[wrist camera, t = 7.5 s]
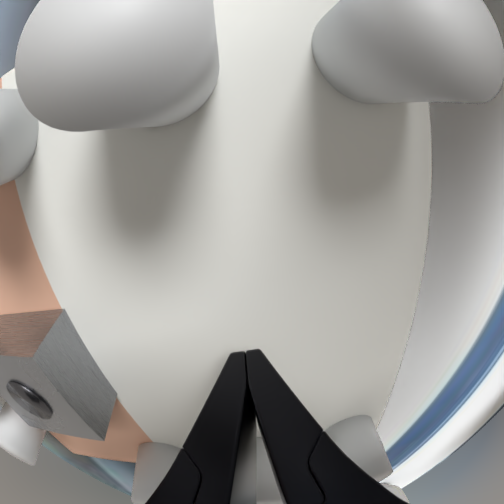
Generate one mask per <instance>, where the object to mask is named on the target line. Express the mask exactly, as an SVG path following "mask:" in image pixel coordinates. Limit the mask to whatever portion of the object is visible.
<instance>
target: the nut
mask: <svg viewBox="0 0 504 504" xmlns="http://www.w3.org/2000/svg"><path fill="white" fill-rule="evenodd" d="M0 395H1V397H2V398H3V399H4V400H5V401H6V402H7V403H8V404H9V406H10V407H11V408H12V409H13V410H14V411H15V412H16V413H17V414H18V415H19V416H20V417H21V418H22V419H23V420H24V421H25V422H26V423H27V424H28V425H29V426H31V427H35V428H38V429H42V430H46V431H50V432H55V433H59V434H64V435H69V436H74V437H80V438H86V439H92V440H99V441H105V437H106V433H107V429H108V426H109V422H110V418H111V415H112V411H113V408H114V404H115V401H116V398H117V392H116V391H115V390H114V388H113V387H112V386H111V384H110V383H109V381H108V380H107V378H106V377H105V376H104V374H103V373H102V371H101V370H100V368H99V367H98V365H97V363H96V362H95V360H94V359H93V357H92V356H91V354H90V352H89V351H88V349H87V348H86V346H85V344H84V343H83V341H82V339H81V337H80V336H79V334H78V332H77V330H76V329H75V327H74V325H73V323H72V321H71V320H70V318H69V316H68V314H67V312H66V310H65V308H64V309H55V310H46V311H36V312H26V313H15V314H3V315H0Z"/></svg>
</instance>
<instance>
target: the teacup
mask: <svg viewBox="0 0 504 504" xmlns="http://www.w3.org/2000/svg"><path fill="white" fill-rule="evenodd" d="M380 484H381V485H383V486H384V487H385V488H386V489H388V490H389V491H390V492H392V493H393V494H395V495H396V496H397V497H399V498H401V499H402V500H404V501H406V502H408V503H409V501H408V499H407V497H406V496H405V494H404V492H403V491H402V489H401V488H399V487H398V486H395V485H387V484H384V483H380Z"/></svg>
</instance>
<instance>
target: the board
mask: <svg viewBox="0 0 504 504" xmlns="http://www.w3.org/2000/svg"><path fill="white" fill-rule="evenodd" d="M503 80H504V48H503V43H502V40H501V36H500V33H499V30H498V28H497V25H496V23H495V21H494V19H493V17H492V15H491V13H490V11H489V9H488V8H487V6H486V5H485V3H484V2H483V0H40V1H39V3H38V4H37V6H36V7H35V9H34V10H33V12H32V13H31V15H30V17H29V19H28V20H27V22H26V24H25V27H24V29H23V31H22V34H21V37H20V40H19V43H18V47H17V52H16V58H15V68H14V69H12V70H11V71H9V72H8V73H6V74H5V75H4V76H2V78H1V79H0V315H3V314H15V313H26V312H36V311H46V310H55V309H64V308H65V310H66V312H67V314H68V316H69V318H70V320H71V321H72V323H73V325H74V327H75V329H76V330H77V332H78V334H79V336H80V337H81V339H82V341H83V343H84V344H85V346H86V348H87V349H88V351H89V352H90V354H91V356H92V357H93V359H94V360H95V362H96V363H97V365H98V367H99V368H100V370H101V371H102V373H103V374H104V376H105V377H106V378H107V380H108V381H109V383H110V384H111V386H112V387H113V388H114V390H115V391H116V392H117V398H116V401H115V404H114V408H113V411H112V415H111V418H110V422H109V426H108V429H107V433H106V437H105V441H99V440H92V439H86V438H80V437H74V436H69V435H64V434H59V433H55V432H50V431H49V432H50V433H51V434H52V435H53V436H54V437H55V438H57V439H58V440H59V441H60V442H61V443H62V444H63V445H64V446H66V447H67V448H68V449H69V450H70V451H71V452H73V453H75V454H80V455H85V456H91V457H96V458H102V459H109V460H116V461H125V462H134V463H136V465H135V472H134V480H133V488H132V496H131V501H132V502H133V503H135V504H145V503H146V502H147V500H148V499H149V498H150V496H151V495H152V494H153V492H154V491H155V490H156V488H157V487H158V486H159V484H160V483H161V481H162V480H163V479H164V477H165V476H166V474H167V472H168V471H169V469H170V467H171V466H172V464H173V462H174V461H175V459H176V457H177V455H178V453H179V451H180V449H182V448H183V447H182V446H183V444H184V442H185V440H186V438H187V437H188V435H189V433H190V431H191V429H192V427H193V425H194V423H195V421H196V419H197V417H198V415H199V414H200V412H201V410H202V408H203V406H204V404H205V402H206V400H207V398H208V396H209V394H210V392H211V390H212V388H213V386H214V384H215V382H216V380H217V378H218V376H219V374H220V372H221V370H222V368H223V366H224V364H225V362H226V360H227V358H228V356H229V355H230V353H232V352H238V351H244V352H245V353H246V351H247V350H252V349H260V350H261V351H262V352H263V353H264V355H265V356H266V357H267V359H268V360H269V361H270V363H271V364H272V365H273V367H274V368H275V369H276V371H277V372H278V373H279V374H280V376H281V377H282V378H283V380H284V381H285V382H286V383H287V385H288V386H289V387H290V389H291V390H292V391H293V392H294V394H295V395H296V396H297V397H298V399H299V400H300V401H301V403H302V404H303V405H304V406H305V408H306V409H307V410H308V411H309V412H310V414H311V415H312V416H313V417H314V419H315V420H316V421H317V422H318V424H319V425H320V426H321V427H322V428H323V431H325V432H326V433H327V434H328V435H329V437H330V438H331V439H332V440H333V441H334V442H335V443H336V445H337V446H338V447H339V448H340V449H341V450H342V451H343V452H344V453H345V454H346V455H347V456H348V457H349V458H350V459H351V460H352V461H353V462H355V463H356V464H357V465H358V466H359V467H360V468H361V469H363V470H364V471H365V472H366V473H367V474H369V475H370V476H371V477H372V478H374V479H375V480H376V481H377V482H380V481H381V480H383V479H385V478H386V477H388V476H389V475H390V474H392V472H393V470H392V467H391V465H390V462H389V459H388V457H387V455H386V452H385V450H384V447H383V445H382V442H381V440H380V437H379V435H378V433H377V427H378V425H379V423H380V420H381V418H382V415H383V413H384V410H385V408H386V405H387V403H388V400H389V398H390V395H391V392H392V389H393V387H394V384H395V381H396V378H397V375H398V372H399V369H400V366H401V362H402V359H403V356H404V353H405V349H406V346H407V342H408V338H409V335H410V331H411V327H412V323H413V319H414V314H415V310H416V305H417V301H418V296H419V291H420V286H421V280H422V274H423V268H424V262H425V255H426V247H427V239H428V230H429V219H430V206H431V187H432V140H431V121H430V108H429V102H454V103H473V104H481V103H486V102H488V101H490V100H492V99H493V98H494V97H495V96H496V95H497V94H498V92H499V91H500V89H501V86H502V84H503ZM256 427H257V489H256V504H283V502H282V499H281V496H280V493H279V490H278V487H277V484H276V481H275V478H274V475H273V472H272V469H271V465H270V462H269V459H268V456H267V453H266V449H265V446H264V443H263V440H262V436H261V433H260V430H259V426H258V422H257V418H256ZM45 433H46V430H42V429H38V428H35V427H31V426H29V425H28V424H27V423H26V422H25V421H24V420H23V419H22V418H21V417H20V416H19V415H18V414H17V413H16V412H15V411H14V410H13V409H12V408H11V407H10V406H9V404H8V403H7V402H5V404H4V406H3V408H2V410H1V412H0V447H1V448H2V449H4V450H5V451H7V452H8V453H9V454H11V455H12V456H14V457H15V458H17V459H19V460H21V461H22V462H24V463H27V464H29V465H33V466H34V465H35V463H36V459H37V456H38V453H39V450H40V447H41V444H42V441H43V439H44V436H45Z"/></svg>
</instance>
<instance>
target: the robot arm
mask: <svg viewBox="0 0 504 504" xmlns="http://www.w3.org/2000/svg"><path fill="white" fill-rule="evenodd" d="M256 418H257V422H258V426H259V430H260V433H261V436H262V440H263V443H264V446H265V449H266V453H267V456H268V459H269V462H270V465H271V469H272V472H273V475H274V478H275V481H276V484H277V487H278V490H279V493H280V496H281V499H282V502H283V504H410V503H408V502H406V501H404V500H402V499H401V498H399V497H397V496H396V495H395V494H393V493H392V492H390V491H389V490H388V489H386V488H385V487H384V486H383V485H381V484H380V483H379V482H377V481H376V480H375V479H374V478H372V477H371V476H370V475H369V474H367V473H366V472H365V471H364V470H363V469H361V468H360V467H359V466H358V465H357V464H356V463H355V462H353V461H352V460H351V459H350V458H349V457H348V456H347V455H346V454H345V453H344V452H343V451H342V450H341V449H340V448H339V447H338V446H337V445H336V443H335V442H334V441H333V440H332V439H331V438H330V437H329V435H328V434H327V433H326V432H325V431H323V428H322V427H321V426H320V425H319V424H318V422H317V421H316V420H315V419H314V417H313V416H312V415H311V414H310V412H309V411H308V410H307V409H306V408H305V406H304V405H303V404H302V403H301V401H300V400H299V399H298V397H297V396H296V395H295V394H294V392H293V391H292V390H291V389H290V387H289V386H288V385H287V383H286V382H285V381H284V380H283V378H282V377H281V376H280V374H279V373H278V372H277V371H276V369H275V368H274V367H273V365H272V364H271V363H270V361H269V360H268V359H267V357H266V356H265V355H264V353H263V352H262V351H261V350H260V349H252V350H247V351H246V353H245V352H244V351H238V352H232V353H230V355H229V356H228V358H227V360H226V362H225V364H224V366H223V368H222V370H221V372H220V374H219V376H218V378H217V380H216V382H215V384H214V386H213V388H212V390H211V392H210V394H209V396H208V398H207V400H206V402H205V404H204V406H203V408H202V410H201V412H200V414H199V415H198V417H197V419H196V421H195V423H194V425H193V427H192V429H191V431H190V433H189V435H188V437H187V438H186V440H185V442H184V444H183V446H182V447H183V448H182V449H180V451H179V453H178V455H177V457H176V459H175V461H174V462H173V464H172V466H171V467H170V469H169V471H168V472H167V474H166V476H165V477H164V479H163V480H162V481H161V483H160V484H159V486H158V487H157V488H156V490H155V491H154V492H153V494H152V495H151V496H150V498H149V499H148V500H147V502H146V503H145V504H256V489H257V427H256Z"/></svg>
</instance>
